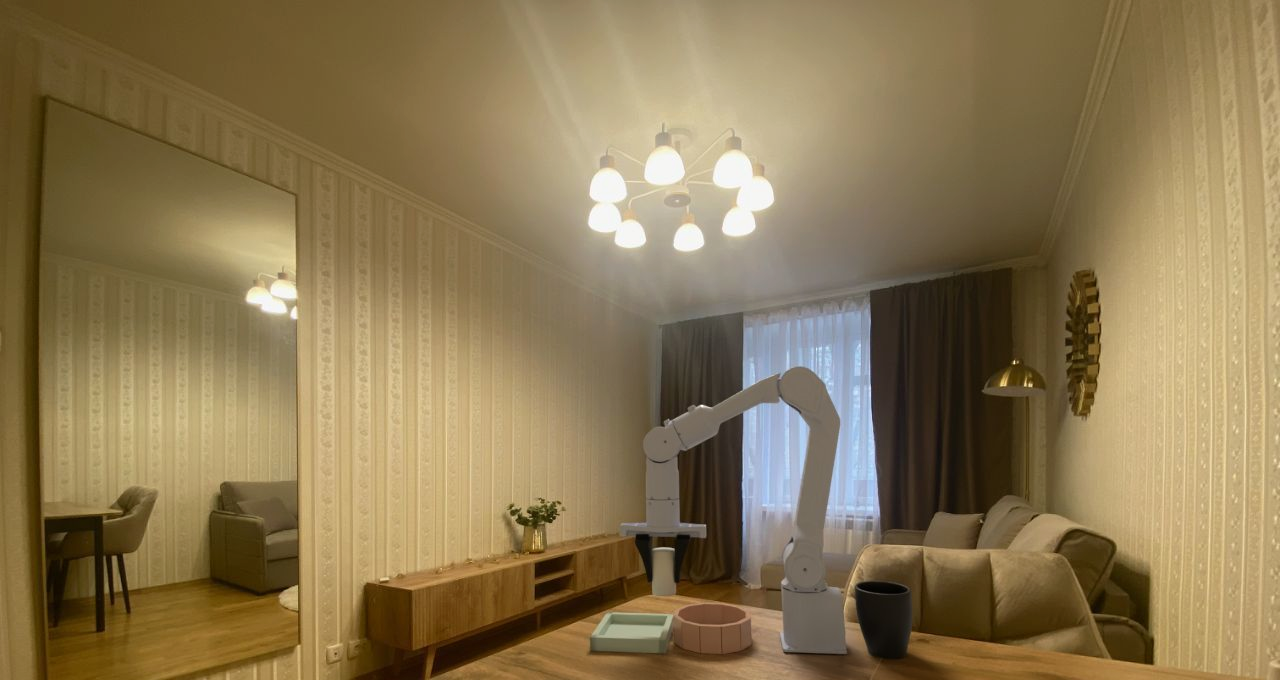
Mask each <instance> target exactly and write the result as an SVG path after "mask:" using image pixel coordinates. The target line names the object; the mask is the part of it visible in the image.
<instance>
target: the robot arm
mask: <svg viewBox="0 0 1280 680" xmlns="http://www.w3.org/2000/svg"><path fill="white" fill-rule="evenodd" d="M781 374H782V372H779V373H775V374H773V375H769V376H768V377H766V378H763V379H760V380H758V381H756V382H754V383H752V384H751V385H749V386H747V387H746V388H744V389H743V390H740V391H739V392H737V393H736V394H733V395H732V396H730V397H728V398H727V399H725V400H723V401H722V402H719V403H718V404H715V405H714V406H712V407H709V406H708V405H705V404H699V405H698V406H696V405H695V404H692V405H690V406H688V407H687V411H686V412H685V413H683V414H680V415H678V416H677V417H675V418H674V419H671V420H670V419H669V418H668V419H666V420H664V421H663V425H664V426H654V427H653V428H652V429H651V430H650V431H649V432H648V433H647V434H645V436H644V438H643V441H642V442H643V443H642V449H643V451H644V454H645V455H646V461H645V464H646V465H645V466H646V469H645V470H646V471H645V505H646V506H645V509H646V510H645V515H646V516H645V517H646V521H645V522H627V523H625V522H623V523H621V524H620V525H619V526H620V527H619V528H620V529H619V530H620V531H619V533H620V538H621V537H623V538H624V537H625V538H627V537H635V540H634V544H635V547H636V549H637V550H638V553H639V555H640V558H641V561H642V563H643V567H644V570H645V574H646V580H647V581H646V582H647V583H652V549H653V542H654V541H653V539H654V537H662V538H663V537H669V538H670V537H671V538H675V539H674V541H673V542H674V549H675V583H676V584H679V583H681V575H682V574H681V573H682V568H683V563H684V559H685V556H686V553H687V550H688V548H689V544H690V543H691V539H692V538H700V539H706V538H707V524H701V523H700V524H699V523H697V524H696V523H687V522H681V521H680V520H681V519H680V516H681V515H680V514H681V513H680V512H681V511H680V472H679V469H678V464H679V463H678V455H679V453H680V451H683V452H687V451H688V450H690V449H692V448H694V447H696V446H698V445H700V444H701V443H703V442H706V441H707V440H708V439H711V438H713V437H715V436H716V435H718V433H719V430H720V425H722V423H724V422H727V421H729V420H730V419H732V418H734V417H736V416H738V415H741V414H742V413H744V412H745V413H746V412H747V411H748V410H750V409H753V408H755V407H757V406H759V405H761V404H779V403H780V401H781V400H782V402H783V403H785V404H786V405H788V406H789V407H790V408H792V409H793V410H795V411H796V412H798V414H799V416H800V417H801V418H802V420H803V421H804V422H805V423H806V425H807V427H809V432H808V436H807V437H808V438H807V442H806V443H807V444H806V449H805V455H804V461H803V462H804V463H803V468H802V472H801V473H802V474H801V479H800V484H799V485H800V487H799V493H798V498H797V504H796V511H795V515H794V522H793V526H792V529H791V532H790V537H789V540H788V541H787V543H785V545H784V547H783V549H782V551H781V561H782V564H783V572H784V575H785V577H784V578H783V579H782V580H781V582H780V586H781V587H780V589H781V590H780V591H781V605H782V607H781V608H782V609H781V610H782V611H781V612H782V627H783V630H782V631H781V632H779V638H780V642H781V646H782V647H781V648H782V651H783V652H785V653H800V654H801V653H804V654H826V655H827V654H829V655H831V654H832V655H847V654H848V651H847V645H846V644H847V642H846V641H847V640H846V626H845V612H844V609H845V608H844V601H843V595H842V592H841V589H840V588H839V587H834V586H828V583H827V581H826V580H825V578H826V573H827V572H826V571H827V569H826V567H827V566H826V565H825V562H824V558H823V557H824V556H823V555H824V554H823V551H824V543H825V542H824V535H825V534H824V531H825V523H826V519H827V518H826V516H827V510H828V505H829V499H830V493H831V486H832V479H833V473H834V466H835V459H836V453H837V448H838V443H839V441H838V440H839V435H840V430H841V429H840V428H841V418H840V415H839V413H838V411H837V408H836V406H835V405H834V403H833V401H832V399H831V396H830V394H829V392H828V388H827V385H826V384H825V382H824V381H823V380H822V379H821V377H819V376H818V375H817V374H816V373H815V372H814V371H813V370H812V369H810V368H808V367H806V366H801V365H800V366H799V365H798V366H792V367H790V368H789V369H787V370H785V372H784V373H783V374H782V375H781ZM780 376H781V377H780ZM780 399H781V400H780Z"/></svg>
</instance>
